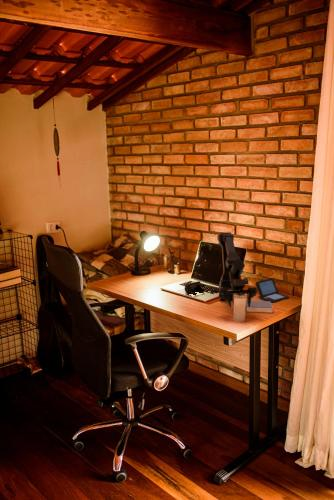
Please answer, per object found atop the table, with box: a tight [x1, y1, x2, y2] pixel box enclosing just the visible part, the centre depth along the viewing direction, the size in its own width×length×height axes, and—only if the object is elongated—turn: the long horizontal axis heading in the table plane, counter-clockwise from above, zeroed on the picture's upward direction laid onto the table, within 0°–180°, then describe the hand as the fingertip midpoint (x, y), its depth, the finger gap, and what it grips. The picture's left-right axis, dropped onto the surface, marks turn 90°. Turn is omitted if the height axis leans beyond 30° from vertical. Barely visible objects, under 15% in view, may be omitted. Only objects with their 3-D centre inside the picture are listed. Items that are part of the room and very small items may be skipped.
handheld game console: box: [255, 278, 290, 304], centre depth 268 cm, size 16×13×9 cm
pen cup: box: [232, 293, 247, 323], centre depth 233 cm, size 6×6×13 cm
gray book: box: [245, 299, 274, 314], centre depth 249 cm, size 14×10×3 cm
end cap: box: [184, 281, 206, 295], centre depth 273 cm, size 10×7×7 cm
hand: (240, 307), depth 231 cm, fingers open, 9 cm apart
